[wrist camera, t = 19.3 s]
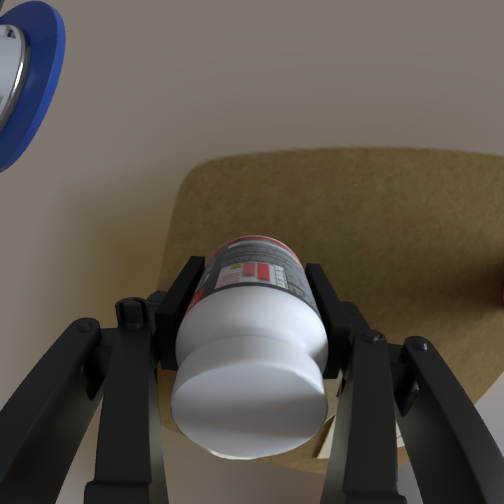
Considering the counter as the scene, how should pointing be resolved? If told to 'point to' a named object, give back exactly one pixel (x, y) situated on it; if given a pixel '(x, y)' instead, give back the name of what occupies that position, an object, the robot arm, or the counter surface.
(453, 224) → the counter surface
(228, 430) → the pill bottle
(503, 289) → the mug
